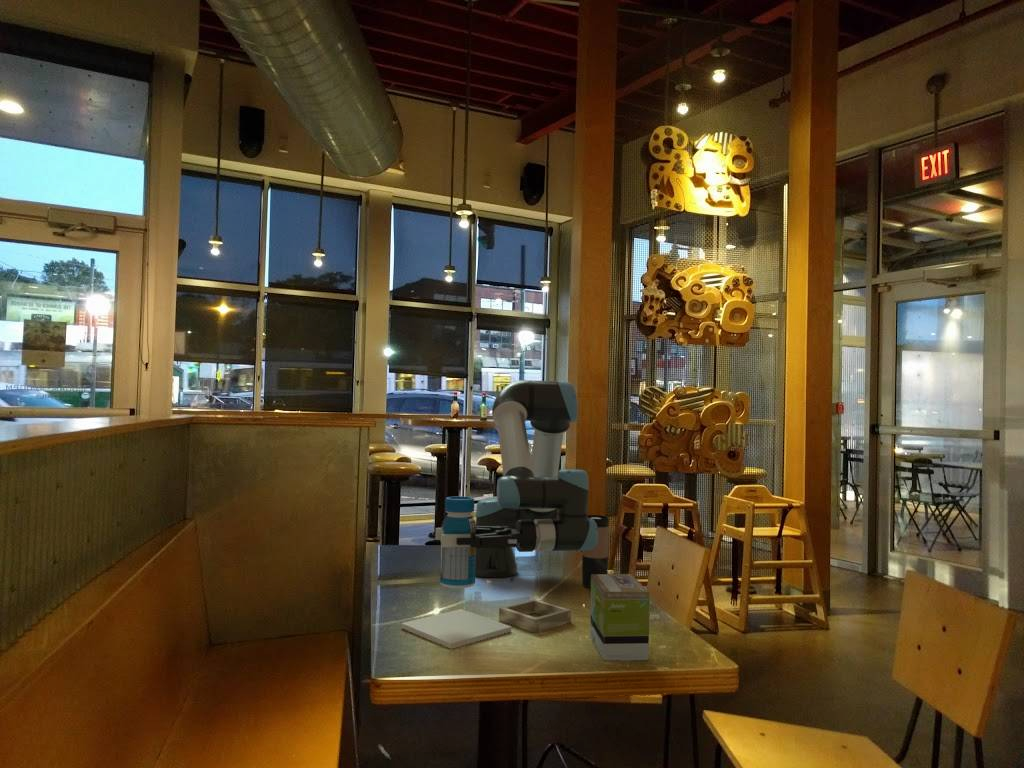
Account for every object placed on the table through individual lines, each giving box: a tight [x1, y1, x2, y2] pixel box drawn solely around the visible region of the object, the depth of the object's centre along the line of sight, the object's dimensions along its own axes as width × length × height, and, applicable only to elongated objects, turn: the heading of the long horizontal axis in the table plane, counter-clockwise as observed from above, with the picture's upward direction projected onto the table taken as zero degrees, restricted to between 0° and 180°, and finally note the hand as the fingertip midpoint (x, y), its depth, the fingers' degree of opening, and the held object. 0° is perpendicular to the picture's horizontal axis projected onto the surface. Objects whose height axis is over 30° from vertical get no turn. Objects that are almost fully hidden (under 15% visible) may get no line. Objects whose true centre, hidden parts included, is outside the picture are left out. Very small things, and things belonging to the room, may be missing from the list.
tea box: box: [589, 573, 650, 662], centre depth 155 cm, size 15×10×15 cm, turn 5°
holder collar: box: [498, 598, 572, 634], centre depth 173 cm, size 12×12×3 cm
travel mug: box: [581, 514, 610, 588], centre depth 210 cm, size 8×8×20 cm
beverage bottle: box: [439, 495, 477, 589], centre depth 165 cm, size 8×8×20 cm
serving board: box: [401, 608, 512, 650], centre depth 164 cm, size 18×18×1 cm
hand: (438, 537), depth 164 cm, fingers closed on beverage bottle, 8 cm apart
